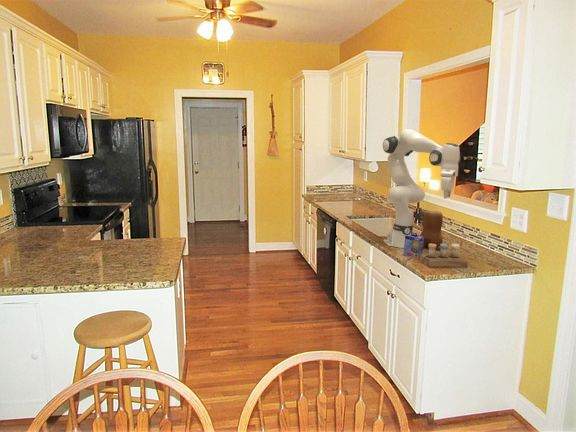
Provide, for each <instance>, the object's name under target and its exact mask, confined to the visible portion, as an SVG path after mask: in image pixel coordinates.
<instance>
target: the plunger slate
mask: <svg viewBox="0 0 576 432" xmlns="http://www.w3.org/2000/svg"><path fill="white" fill-rule="evenodd" d="M448 247H449V244H447V243H442V244H440V247H439V248H440V252H439V254H440V257H446V254H447V251H448Z"/></svg>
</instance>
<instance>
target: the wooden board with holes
mask: <svg viewBox="0 0 576 432" xmlns="http://www.w3.org/2000/svg"><path fill="white" fill-rule="evenodd" d="M428 254H429V253H423V254H418V258H417V262H420V263H422V264H423V265H424V266H427V267H428V268H430V269H438V268H439V269H441V268H442V269H446V268H448V269H449V268H451V269H453V268H455V267H467V268H468V263H469V260H468V259H465V258H463V257H461V256H459V255H457V257H451V253H446V257H440V253H435V256H434V257H428Z"/></svg>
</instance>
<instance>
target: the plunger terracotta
mask: <svg viewBox="0 0 576 432" xmlns="http://www.w3.org/2000/svg"><path fill="white" fill-rule="evenodd" d="M436 249H437V248H436V244H432V243H430V244H429V248H428V253H427V254H428V257H434V256H435V254H436Z"/></svg>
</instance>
